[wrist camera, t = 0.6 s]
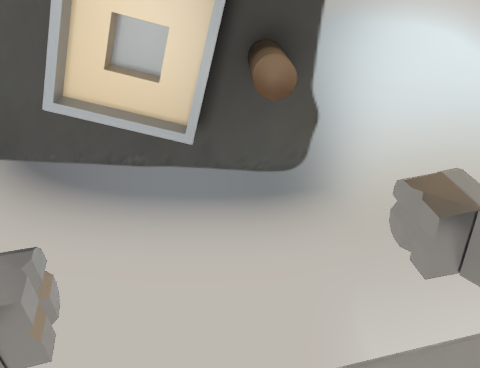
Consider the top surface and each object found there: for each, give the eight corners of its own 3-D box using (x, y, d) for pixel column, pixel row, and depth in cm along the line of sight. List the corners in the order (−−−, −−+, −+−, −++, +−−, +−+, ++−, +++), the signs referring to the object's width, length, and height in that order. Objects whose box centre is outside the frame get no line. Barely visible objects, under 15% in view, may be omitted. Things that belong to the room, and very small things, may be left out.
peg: (253, 35, 51) (260, 51, 40) (286, 44, 52) (302, 62, 41) (244, 69, 53) (248, 94, 42) (276, 78, 53) (289, 104, 42)
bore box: (79, -54, 47) (55, -59, 40) (227, -12, 49) (227, -10, 43) (64, 93, 53) (42, 109, 47) (196, 125, 55) (192, 144, 49)
